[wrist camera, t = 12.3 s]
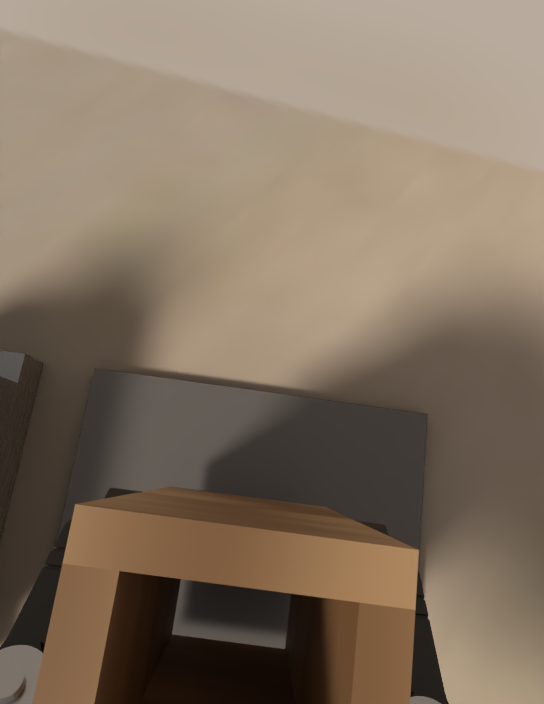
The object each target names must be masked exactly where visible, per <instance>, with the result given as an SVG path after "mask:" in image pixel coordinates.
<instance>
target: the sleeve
mask: <svg viewBox="0 0 544 704" xmlns="http://www.w3.org/2000/svg"><path fill="white" fill-rule="evenodd" d="M418 557H419V550H418V549H416V548H413V547H411V546H409V545H407V544H405V543H403V542H400V541H398V540H396V539H394V538H392V537H390V536H387V535H385V534H383V533H381V532H379V531H377V530H374V529H372V528H370V527H368V526H366V525H364V524H361V523H359V522H356V521H355V520H353V519H351V518H348V517H346V516H344V515H342V514H340V513H338V512H335V511H333V510H331V509H329V508H327V507H321V506H314V505H306V504H299V503H291V502H284V501H276V500H269V499H261V498H254V497H247V496H239V495H232V494H224V493H217V492H209V491H202V490H194V489H187V488H179V487H172V486H169V487H164V488H159V489H153V490H148V491H143V492H141V493H132V494H127V495H122V496H116V497H111V498H106V499H100V500H95V501H90V502H85V503H79V504H75V508H74V512H73V517H72V521H71V526H70V531H69V535H68V540H67V545H66V549H65V554H64V559H63V563H62V568H61V573H60V577H59V582H58V587H57V591H56V596H55V601H54V605H53V610H52V615H51V619H50V624H49V629H48V633H47V638H46V643H45V647H44V652H43V657H42V661H41V666H40V671H39V675H38V680H37V685H36V689H35V694H34V699H33V703H32V704H410V696H411V678H412V661H413V644H414V626H415V609H416V592H417V574H418ZM181 579H184V580H192V581H199V582H207V583H215V584H222V585H230V586H237V587H245V588H253V589H260V590H268V591H275V592H283V593H291V599H290V608H289V617H288V626H287V635H286V644H285V649H281V648H273V647H265V646H258V645H250V644H242V643H235V642H227V641H219V640H212V639H204V638H196V637H189V636H181V635H173V634H172V631H173V625H174V619H175V613H176V607H177V600H178V594H179V588H180V582H181Z"/></svg>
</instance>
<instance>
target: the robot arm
mask: <svg viewBox="0 0 544 704" xmlns="http://www.w3.org/2000/svg"><path fill="white" fill-rule="evenodd" d="M141 492H142V491H134V490H127V489H119V488H110V489H109V490H108V492H107V494H106V496H105V498H104V499H106V498H111V497H116V496H122V495H127V494H132V493H141ZM71 521H72V519H70V520H69V521H68V522H67V523H66V524H65V525H64V527H63V529H62V531H61V533H60V535H59V537H58V539H57V541H56V543H55V545H54V549H53V550H52V551H51V553H50V555H49V557H48V559H47V561H46V563H45V567H44V568H43V569H42V571H41V573H40V575H39V576H38V578H37V580H36V582H35V584H34V586H33V588H32V590H31V592H30V594H29V596H28V598H27V600H26V602H25V604H24V606H23V608H22V610H21V612H20V614H19V616H18V618H17V620H16V622H15V624H14V626H13V628H12V630H11V632H10V634H9V635H8V637H7V639H6V640H5V642H4V643H3V644H2V646H1V647H0V704H32V703H33V699H34V694H35V689H36V685H37V680H38V675H39V671H40V666H41V661H42V657H43V652H44V647H45V643H46V638H47V633H48V629H49V624H50V619H51V615H52V610H53V605H54V601H55V596H56V591H57V587H58V582H59V577H60V573H61V568H62V563H63V559H64V554H65V549H66V545H67V540H68V535H69V531H70V526H71ZM356 522H359V523H361V524H364V525H366V526H368V527H370V528H372V529H374V530H377V531H379V532H381V533H383V534H385V535H387V536H388V532H387V528H386V526H385V525H384V524H376V523H369V522H361V521H356ZM410 704H449V703H448V701H447V699H446V695H445V692H444V687H443V682H442V678H441V673H440V668H439V664H438V659H437V654H436V650H435V645H434V640H433V635H432V631H431V626H430V621H429V620H428V612H427V607H426V603H425V600H424V593H423V589H422V584H421V579H420V574H419V572H418V574H417V592H416V609H415V626H414V644H413V661H412V678H411V696H410Z"/></svg>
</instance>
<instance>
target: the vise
mask: <svg viewBox="0 0 544 704" xmlns="http://www.w3.org/2000/svg"><path fill="white" fill-rule="evenodd" d="M42 365H43V363H42V362H40V361H38V360H36V359H34V358H32V357H30V356H29V355H27V354H24V353H16V352H9V351H2V350H0V538H1V533H2V529H3V525H4V521H5V517H6V513H7V509H8V505H9V501H10V497H11V492H12V488H13V484H14V480H15V476H16V472H17V468H18V464H19V460H20V456H21V451H22V447H23V443H24V439H25V435H26V431H27V427H28V423H29V419H30V415H31V410H32V406H33V402H34V398H35V394H36V390H37V386H38V382H39V378H40V373H41V369H42Z"/></svg>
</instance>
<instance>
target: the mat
mask: <svg viewBox="0 0 544 704" xmlns="http://www.w3.org/2000/svg"><path fill="white" fill-rule="evenodd" d="M426 432H427V414H425V413H417V412H410V411H403V410H395V409H388V408H381V407H374V406H366V405H359V404H352V403H344V402H337V401H330V400H322V399H315V398H308V397H300V396H293V395H286V394H278V393H271V392H264V391H256V390H249V389H242V388H235V387H227V386H220V385H213V384H205V383H198V382H191V381H183V380H176V379H169V378H161V377H154V376H147V375H139V374H132V373H125V372H117V371H110V370H103V369H96V368H95V369H94V374H93V378H92V383H91V387H90V392H89V396H88V401H87V406H86V410H85V415H84V419H83V424H82V428H81V433H80V438H79V442H78V447H77V451H76V456H75V461H74V465H73V470H72V474H71V479H70V483H69V488H68V493H67V497H66V502H65V506H64V511H63V515H62V520H61V525H60V529H59V534H58V537H59V535H60V533H61V531H62V529H63V527H64V525H65V524H66V523H67V522H68V521H69V520H70V519H72V517H73V512H74V508H75V504H79V503H85V502H90V501H95V500H100V499H104V498H105V496H106V494H107V492H108V490H109V489H110V488H119V489H127V490H134V491H142V492H143V491H148V490H153V489H159V488H164V487H169V486H172V487H179V488H187V489H194V490H202V491H209V492H217V493H224V494H232V495H239V496H247V497H254V498H261V499H269V500H276V501H284V502H291V503H299V504H306V505H314V506H321V507H327V508H329V509H331V510H333V511H335V512H338V513H340V514H342V515H344V516H346V517H348V518H351V519H353V520H355V521H361V522H369V523H376V524H384V525H385V526H386V528H387V532H388V536H390V537H392V538H394V539H396V540H398V541H400V542H403V543H405V544H407V545H409V546H411V547H413V548H416V549H418V550H419V553H420V536H421V518H422V501H423V484H424V466H425V449H426ZM57 539H58V538H57ZM418 570H419V557H418ZM290 599H291V593H283V592H275V591H268V590H260V589H253V588H245V587H237V586H230V585H222V584H215V583H207V582H199V581H192V580H184V579H181V582H180V588H179V594H178V600H177V607H176V613H175V619H174V625H173V631H172V634H173V635H181V636H189V637H196V638H204V639H212V640H219V641H227V642H235V643H242V644H250V645H258V646H265V647H273V648H281V649H285V644H286V635H287V626H288V617H289V608H290Z"/></svg>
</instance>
